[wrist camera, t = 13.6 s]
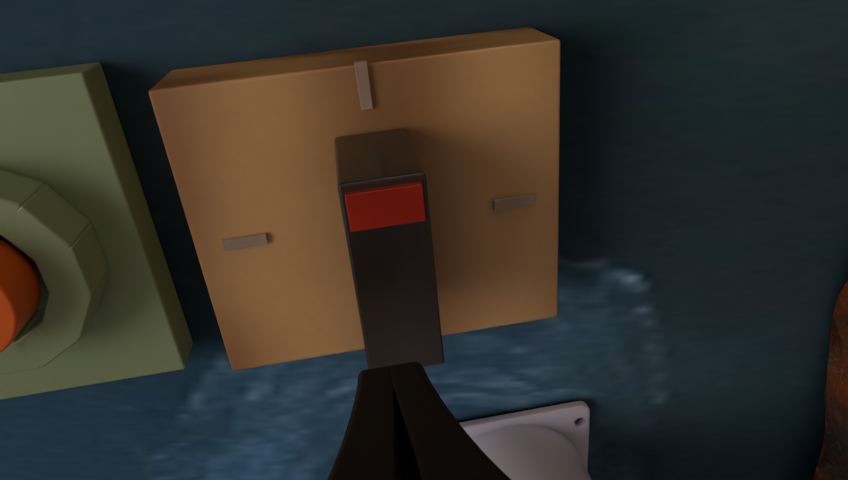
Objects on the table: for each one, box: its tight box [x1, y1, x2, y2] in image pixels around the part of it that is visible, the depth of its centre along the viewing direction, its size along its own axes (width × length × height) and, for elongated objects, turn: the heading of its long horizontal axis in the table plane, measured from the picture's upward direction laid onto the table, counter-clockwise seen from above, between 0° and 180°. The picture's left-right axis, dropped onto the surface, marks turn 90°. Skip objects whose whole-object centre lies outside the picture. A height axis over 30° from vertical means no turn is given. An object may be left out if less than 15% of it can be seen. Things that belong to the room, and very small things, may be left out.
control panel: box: [149, 27, 560, 371], centre depth 21 cm, size 12×10×3 cm
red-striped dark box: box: [334, 128, 444, 369], centre depth 18 cm, size 6×2×4 cm, turn 5°
